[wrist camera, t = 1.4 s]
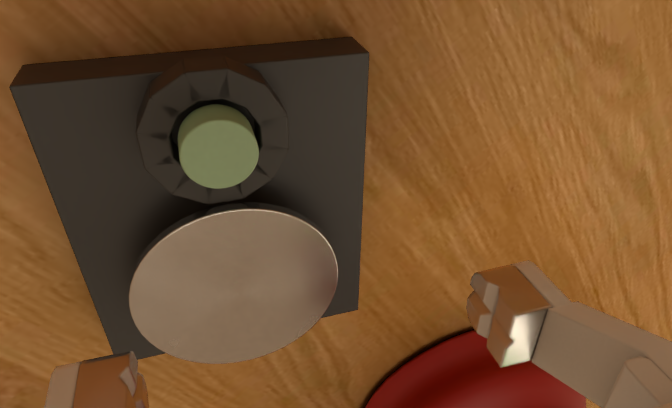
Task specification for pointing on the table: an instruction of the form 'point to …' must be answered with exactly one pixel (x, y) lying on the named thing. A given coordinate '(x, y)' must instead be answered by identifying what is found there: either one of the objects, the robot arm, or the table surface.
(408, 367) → the table lamp
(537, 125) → the table surface
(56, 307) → the table surface
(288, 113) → the scale
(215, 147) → the button
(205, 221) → the scale pan
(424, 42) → the table surface
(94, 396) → the robot arm
